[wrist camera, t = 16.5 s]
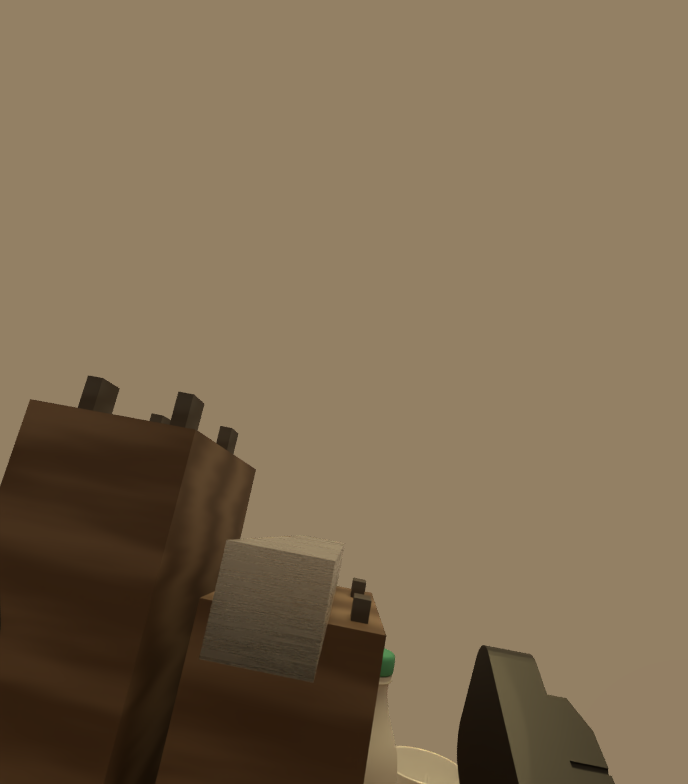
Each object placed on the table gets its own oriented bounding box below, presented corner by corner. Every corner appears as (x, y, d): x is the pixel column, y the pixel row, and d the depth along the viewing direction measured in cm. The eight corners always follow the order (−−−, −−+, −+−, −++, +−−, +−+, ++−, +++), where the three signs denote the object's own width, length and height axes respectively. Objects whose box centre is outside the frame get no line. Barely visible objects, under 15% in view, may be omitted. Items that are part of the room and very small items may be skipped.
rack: (249, 1530, 16) (418, 425, 24) (-302, 1362, 17) (44, 359, 25) (299, 1036, 31) (391, 467, 40) (10, 964, 32) (160, 424, 41)
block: (313, 683, 13) (335, 561, 14) (198, 658, 14) (226, 539, 14) (336, 587, 37) (344, 543, 37) (294, 579, 37) (302, 535, 38)
